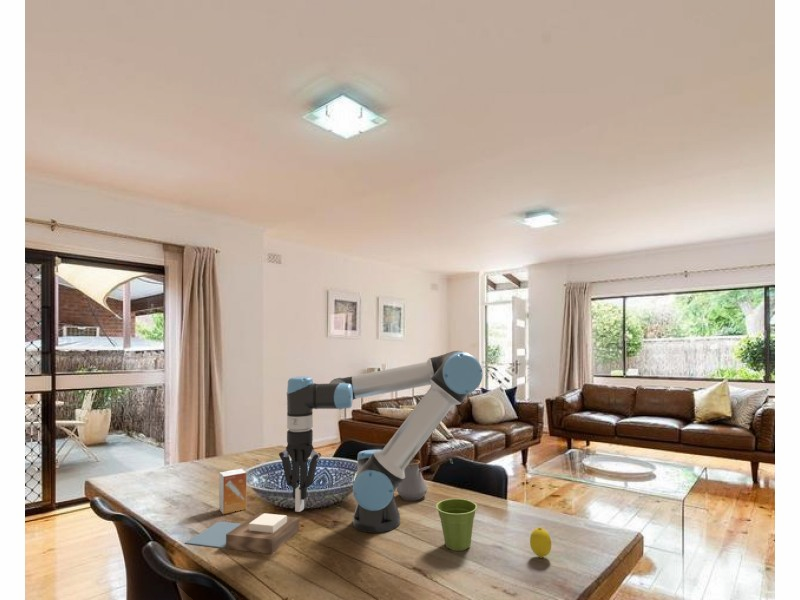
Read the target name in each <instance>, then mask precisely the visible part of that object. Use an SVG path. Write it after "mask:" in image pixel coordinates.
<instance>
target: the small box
mask: <svg viewBox="0 0 800 600" xmlns="http://www.w3.org/2000/svg"><path fill="white" fill-rule="evenodd" d="M218 473H219V478H218V482H219V483H218V485H219V486H218V508H219V509H220V510H219V509H218V510H219V511H220V512H221V513H222V515H226V514H231V513H235V511H236V512H240V510H241V511H245V510H244V509H246V510H247V471H245V470H244V469H243V468H238V469H232V470H226V471H221V472H218Z"/></svg>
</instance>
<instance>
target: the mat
mask: <svg viewBox="0 0 800 600" xmlns="http://www.w3.org/2000/svg"><path fill="white" fill-rule="evenodd" d="M241 524H242V523H236V522H228V521H218V522H216V523H215V524H213V525H211V526H209V527H207V528H206V529H205V530H203V531H202V532H199V533H198V534H197V535H195V536H193V537H192V538H190V539H188V540H186V541H185V542H184V544H187V545H193V546H194V545H195V546H201V547H202V546H204V547H210V548H219V549H226V534H227V533H229V532H230V531H232V530H233V529H235V528H236V527H238V526H239V525H241Z"/></svg>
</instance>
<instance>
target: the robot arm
mask: <svg viewBox="0 0 800 600" xmlns="http://www.w3.org/2000/svg"><path fill="white" fill-rule="evenodd" d="M483 374H484V373H483V367H482V365H481V363H480V362H479V360H478V359H477V358H476V357H475V355H472V354H470V353H469V352H466V351H461V350H453V351H450V352H446V353H444V354H441V355H438V356H434V357H430V358H428V359H427V360H426V361H423V362H418V363H413V364H409V365H404V366H398V367H393V368H388V369H382V370H376V371H372V372H367V373H361V374H356V375H352V376H347V377H337V378H334V379H332V380H330V382H329V383H314V380H313V377H311V376H293V377H290V378H289V379H288V381H287V389H286V390H287V392H286V398H287V399H286V400H287V401H286V405H287V407H286V411H287V412H286V414H287V415H286V428H287V431H286V442H287V444H286V447H285V450H283V451H281V452H278V456H279V458H280V460H281V462H282V463H281V464H282V468H283V472H284V478H285V482H286V485H287V486H290V487H292V498H293V500H294V506H295V507H294V508H295V509H294V511H295V512H296V513H297V512H298V513H300V512H302V511H303V510H304V509H305V500H306V498H307V496H308V495H307V494H308V493H307V490H308V488H309V487H310V486H312V485H313V484H314V480H315V477H316V476H315V475H316V471H317V466H318V461H319V459H320V458H321V456H322V454H321V452H317V451H315V450H314V449H315V448H314V446H313V441H314V439H313V437H314V435H313V433H314V432H313V429H312V428H313V425H314V423H313V419H314V418H313V413H314V412H313V410H319V409H320V410H326V409H327V410H344V409H350V408H352V406H353V400H358V399H362V398H368V397H373V396H378V395H384V394H388V393H394V392H400V391H404V390H405V391H406V390H410V389H415V388H420V387H421V388H422V387H424V386H430V388H429V389H428V390H427V391H426V393H425V394H424V395H423V396H422V398H421V399H420V401H419V402H418V403H417V404H416V406H415V407H414V408H413V410H411V412H410V413H409V414H408V416H407V417H406V419H405V420H404V421H403V423H402V424H401V425H400V427H399V428H398V429H397V430H396V431H395V433H394V434H393V436H392V437H391V438H390V439H389V440H388V442H387V443H386V445H384V447H383V448H382V449H367V450H366V449H365V450H362V451H359V452H358V453H357V459H356V461H357V471H356V475H355V478H354V480H353V482H352V492H353V493H352V495H353V497H354V499H355V502H356V506H355V511H354V514H353V517H352V519H353V520H352V521H353V522H352V523H353V524H352V526H353V527H354V528H355V529H356V530H358V531H361V532H366V533H384V532H389V531H392V530H393V529H396V528H397V527H398V526H399V525H400V524H401V516H400V515H401V514H400V511H399V509H398V505H397V502H396V499H395V491H397V487H398V486H399V484H400V483H401V482H402V480H403V479H404V478H405V473H404V469H405V468H406V467H407V465H408V464H409V463H410V461H411V460H414V458H415V456H416V455H417V454H418V453H419V452H420V450H421V449H422V447H423V446H424V444H425V443H426V442H427V441H428V439H429V438H430V437H431V435H432V434H433V432H435V430H436V429H437V428H438V426H439V425H440V423H442V421H443V419H445V417H446V415H447V414H448V413H449V412H450V411H451V410H452V408H453V406H456V405H461V404H462V403H463V402H464V401H465V400H466V398H467V397H468V395H469V394H471V393H472V392H474V391H476V390H477V389H478V387H480V385H481V383H482V380H483ZM309 458H310V459H311V460H310V463H309ZM308 463H309V467H308Z"/></svg>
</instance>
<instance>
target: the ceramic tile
mask: <svg viewBox="0 0 800 600" xmlns="http://www.w3.org/2000/svg"><path fill="white" fill-rule="evenodd" d="M261 514H262V515H261V516H259V517H258V518H256V519H255V520H253V521H252V522H250V523H249V530H250V531H260V532H269V533H274V532H275V531H276V530H277V529H279V528H280V527H281V526H283V525H284V524H285V523H286V522H287V517H288V516H287V515H285V514H274V513H265V512H264V513H261Z"/></svg>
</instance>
